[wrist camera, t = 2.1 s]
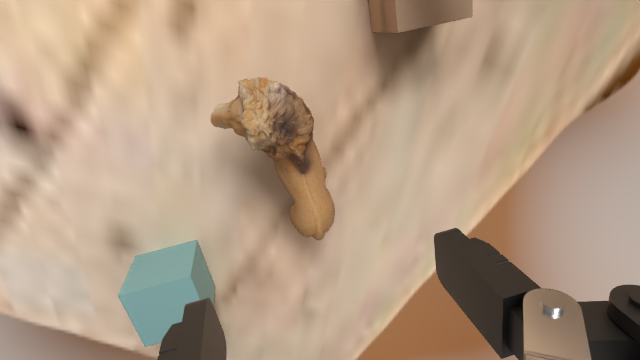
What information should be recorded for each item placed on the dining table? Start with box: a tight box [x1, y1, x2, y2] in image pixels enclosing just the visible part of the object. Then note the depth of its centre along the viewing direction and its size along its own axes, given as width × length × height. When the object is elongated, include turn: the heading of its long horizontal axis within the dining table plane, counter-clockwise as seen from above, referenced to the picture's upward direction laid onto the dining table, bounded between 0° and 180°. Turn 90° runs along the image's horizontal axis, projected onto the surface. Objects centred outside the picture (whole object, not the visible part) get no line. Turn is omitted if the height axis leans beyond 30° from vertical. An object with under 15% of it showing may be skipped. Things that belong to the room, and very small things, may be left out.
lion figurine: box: [211, 77, 335, 240], centre depth 25 cm, size 15×5×9 cm, turn 28°
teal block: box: [118, 240, 215, 347], centre depth 29 cm, size 5×5×5 cm
